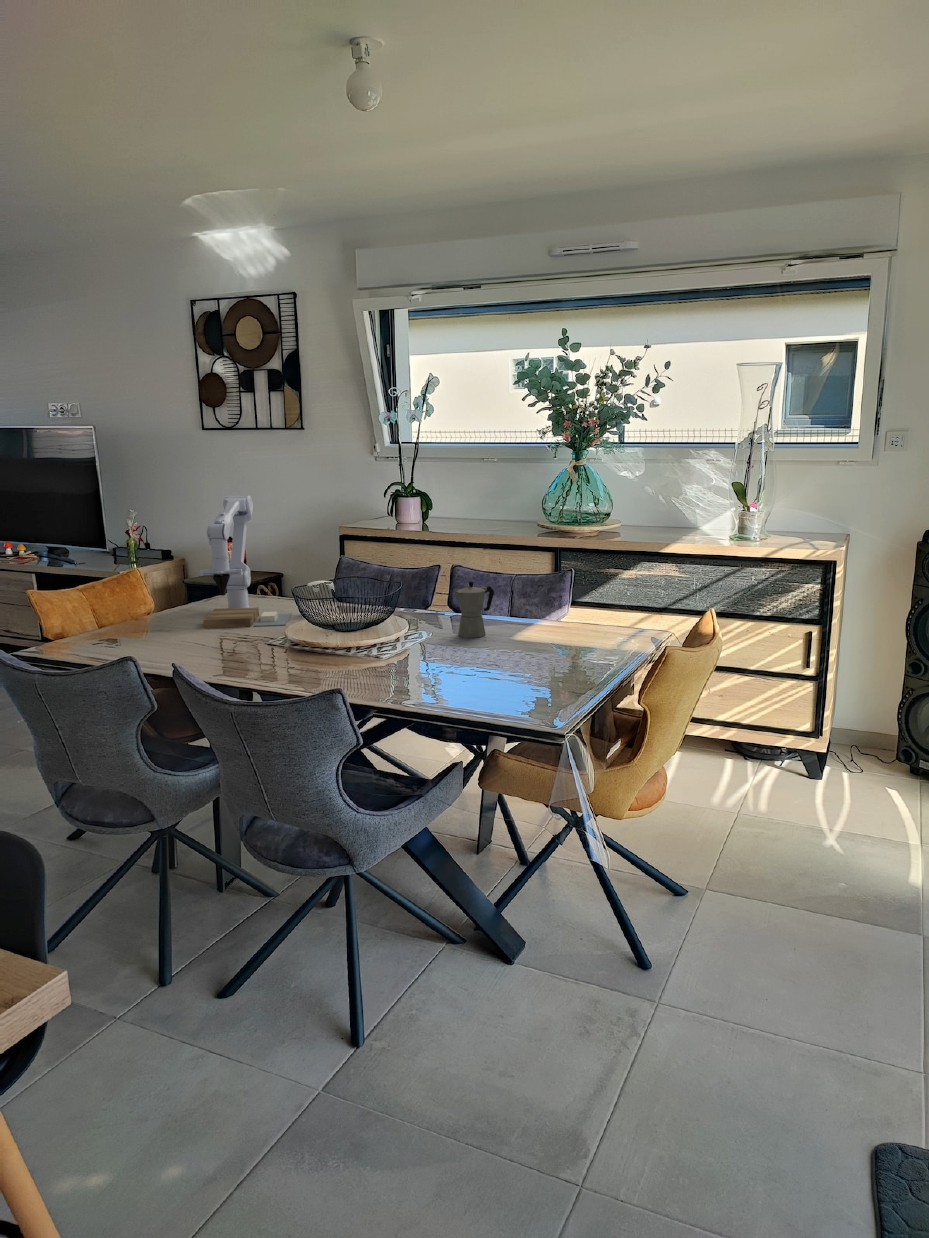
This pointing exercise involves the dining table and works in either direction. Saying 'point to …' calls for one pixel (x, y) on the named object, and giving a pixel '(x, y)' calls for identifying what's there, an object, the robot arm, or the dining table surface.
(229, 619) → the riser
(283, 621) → the mat
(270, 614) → the tile
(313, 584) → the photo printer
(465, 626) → the coffeepot
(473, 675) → the dining table surface
